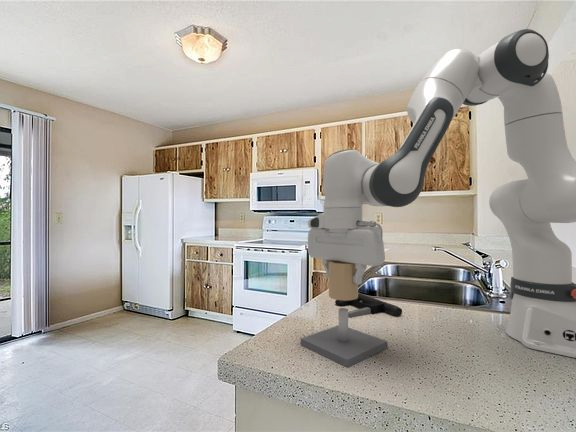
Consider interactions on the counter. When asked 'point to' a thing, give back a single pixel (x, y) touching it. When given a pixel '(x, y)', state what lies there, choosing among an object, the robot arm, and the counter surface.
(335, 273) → the paper roll
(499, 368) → the counter surface
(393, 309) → the black two-tone tubular device
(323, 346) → the roll holder
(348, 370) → the counter surface
